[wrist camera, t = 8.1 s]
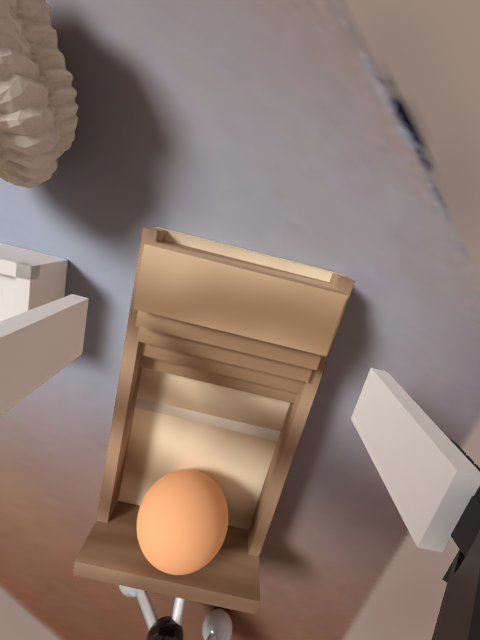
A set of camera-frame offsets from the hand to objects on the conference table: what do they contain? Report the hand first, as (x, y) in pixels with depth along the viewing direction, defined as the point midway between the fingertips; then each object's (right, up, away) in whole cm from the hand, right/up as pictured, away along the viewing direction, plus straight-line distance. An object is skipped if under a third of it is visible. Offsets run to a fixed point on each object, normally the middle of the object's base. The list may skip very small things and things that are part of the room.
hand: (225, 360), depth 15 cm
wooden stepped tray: (-1, -4, +9) cm, 10 cm away
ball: (-3, -11, +7) cm, 14 cm away
